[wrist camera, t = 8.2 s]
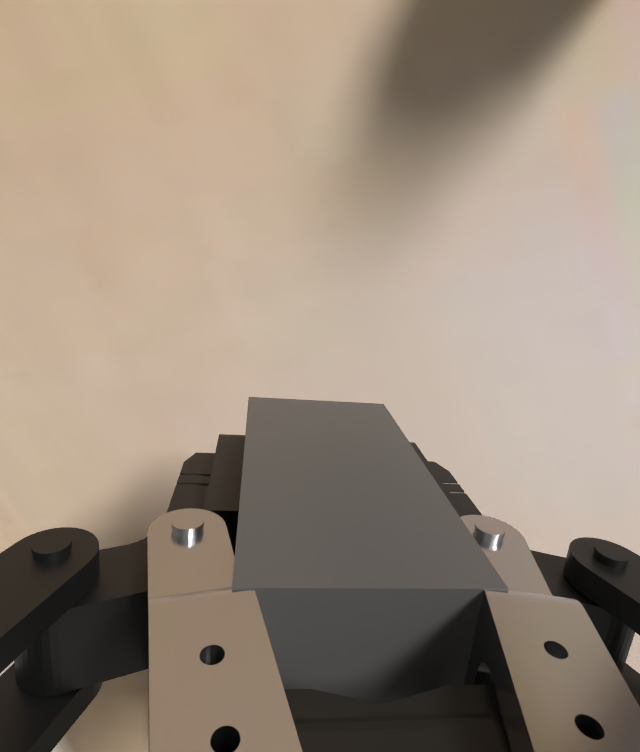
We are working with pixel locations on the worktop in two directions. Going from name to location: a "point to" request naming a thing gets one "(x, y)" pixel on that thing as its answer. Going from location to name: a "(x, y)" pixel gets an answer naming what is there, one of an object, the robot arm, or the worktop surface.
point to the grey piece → (354, 553)
